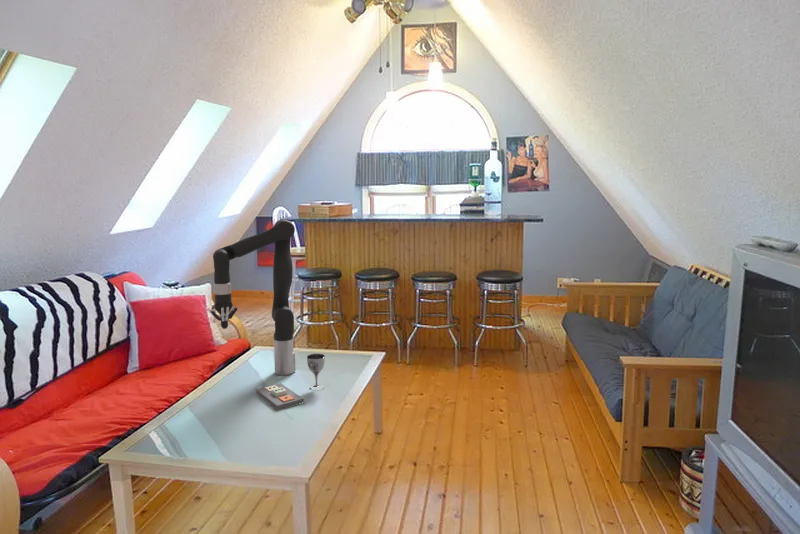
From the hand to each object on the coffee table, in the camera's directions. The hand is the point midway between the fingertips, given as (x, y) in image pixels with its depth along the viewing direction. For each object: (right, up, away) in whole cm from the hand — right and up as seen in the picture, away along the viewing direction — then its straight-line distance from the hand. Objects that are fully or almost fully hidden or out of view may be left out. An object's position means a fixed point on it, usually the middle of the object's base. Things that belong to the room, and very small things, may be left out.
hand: (224, 328), depth 260 cm
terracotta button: (+34, -29, -24) cm, 51 cm away
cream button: (+25, -28, -13) cm, 40 cm away
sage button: (+30, -27, -18) cm, 44 cm away
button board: (+30, -29, -18) cm, 45 cm away
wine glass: (+44, -27, -6) cm, 52 cm away
